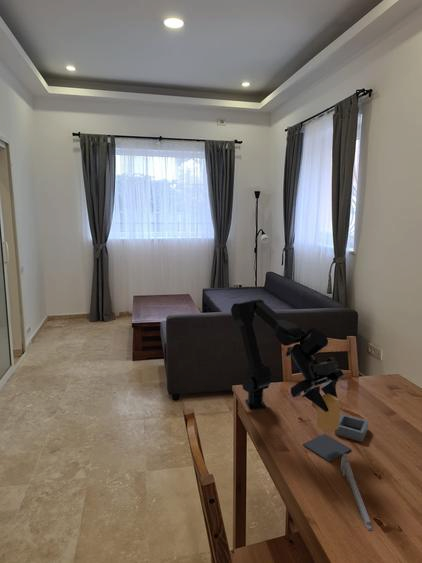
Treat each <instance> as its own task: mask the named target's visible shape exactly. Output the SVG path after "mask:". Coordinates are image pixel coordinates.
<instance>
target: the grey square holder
mask: <svg viewBox="0 0 422 563" xmlns="http://www.w3.org/2000/svg"><path fill="white" fill-rule="evenodd" d="M368 429H369V420H366V419H362V418H358V417H354V416H350V415H347V414H344V413H341V415H340V417H339V429H337V430H335V431H334V435H337V436H341V437H343V438H346V439H347V438H348V439H351V440H353V441H357V442H361V443H363V442H364V440H365V437H366V435H367V432H368Z"/></svg>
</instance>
